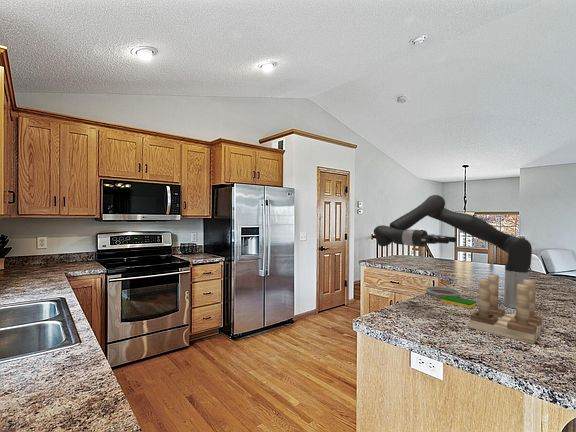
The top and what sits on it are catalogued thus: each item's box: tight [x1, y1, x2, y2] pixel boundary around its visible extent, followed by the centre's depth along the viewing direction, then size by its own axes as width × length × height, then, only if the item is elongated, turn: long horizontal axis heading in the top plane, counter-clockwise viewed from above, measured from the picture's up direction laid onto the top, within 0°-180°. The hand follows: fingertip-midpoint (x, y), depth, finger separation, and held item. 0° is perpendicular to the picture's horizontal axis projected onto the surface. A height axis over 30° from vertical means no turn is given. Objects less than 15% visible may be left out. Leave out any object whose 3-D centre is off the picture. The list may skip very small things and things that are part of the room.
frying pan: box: [424, 284, 460, 298], centre depth 177 cm, size 17×3×28 cm
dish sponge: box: [440, 295, 477, 309], centre depth 155 cm, size 7×14×2 cm, turn 40°
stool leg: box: [477, 277, 491, 318], centre depth 123 cm, size 4×4×16 cm
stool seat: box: [468, 273, 544, 345], centre depth 122 cm, size 20×20×19 cm
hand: (452, 240), depth 133 cm, fingers open, 8 cm apart
